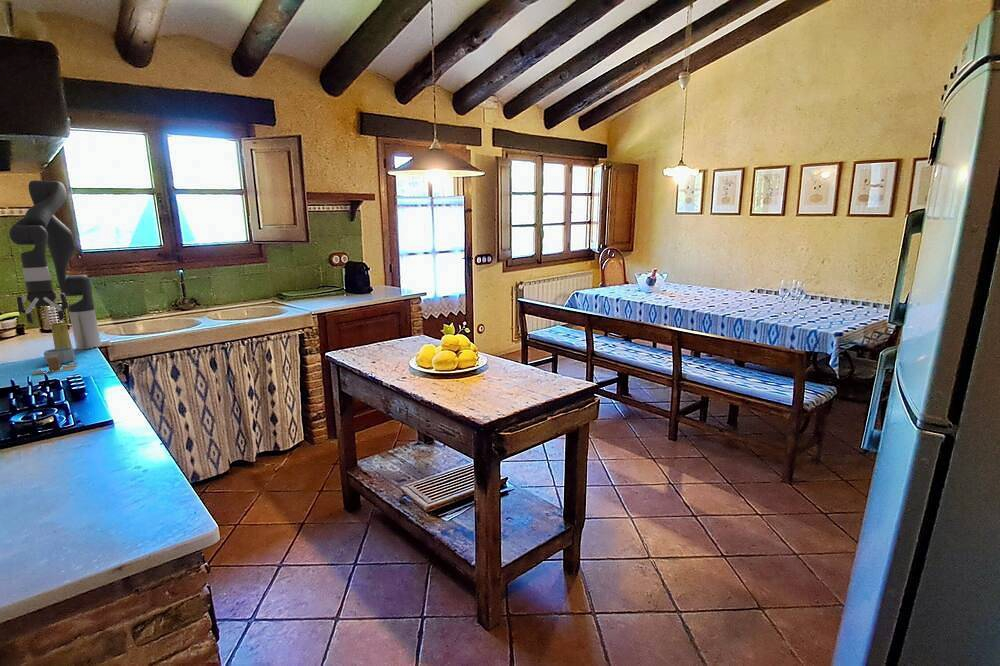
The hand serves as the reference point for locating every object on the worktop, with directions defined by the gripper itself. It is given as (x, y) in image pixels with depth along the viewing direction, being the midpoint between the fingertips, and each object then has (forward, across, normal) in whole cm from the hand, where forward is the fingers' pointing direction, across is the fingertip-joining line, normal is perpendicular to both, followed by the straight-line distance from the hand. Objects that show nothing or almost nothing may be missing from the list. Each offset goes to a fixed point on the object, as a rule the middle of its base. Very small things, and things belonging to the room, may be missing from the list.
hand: (46, 321), depth 199 cm
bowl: (+18, 0, -14) cm, 23 cm away
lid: (+19, 0, 0) cm, 19 cm away
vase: (+18, 0, -26) cm, 32 cm away
